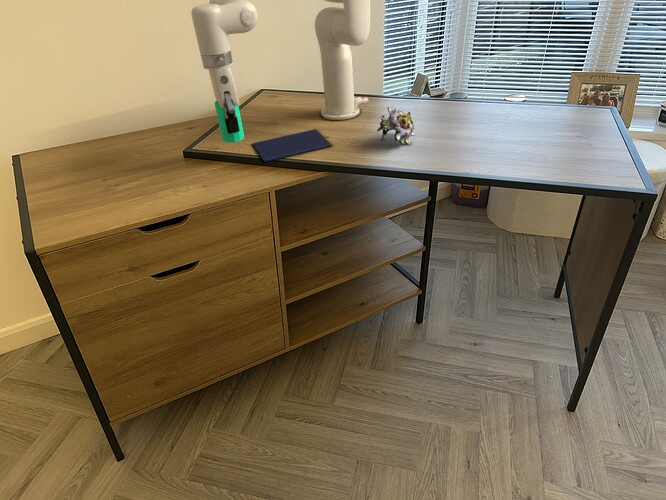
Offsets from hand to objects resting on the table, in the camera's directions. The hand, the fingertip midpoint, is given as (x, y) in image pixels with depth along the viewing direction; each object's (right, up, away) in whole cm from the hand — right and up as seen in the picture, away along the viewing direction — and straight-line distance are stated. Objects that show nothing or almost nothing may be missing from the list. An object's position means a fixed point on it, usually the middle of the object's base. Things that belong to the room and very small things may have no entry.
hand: (231, 128), depth 131 cm
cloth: (+16, -3, +9) cm, 18 cm away
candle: (0, -2, +2) cm, 3 cm away
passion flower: (+45, -2, +6) cm, 46 cm away
